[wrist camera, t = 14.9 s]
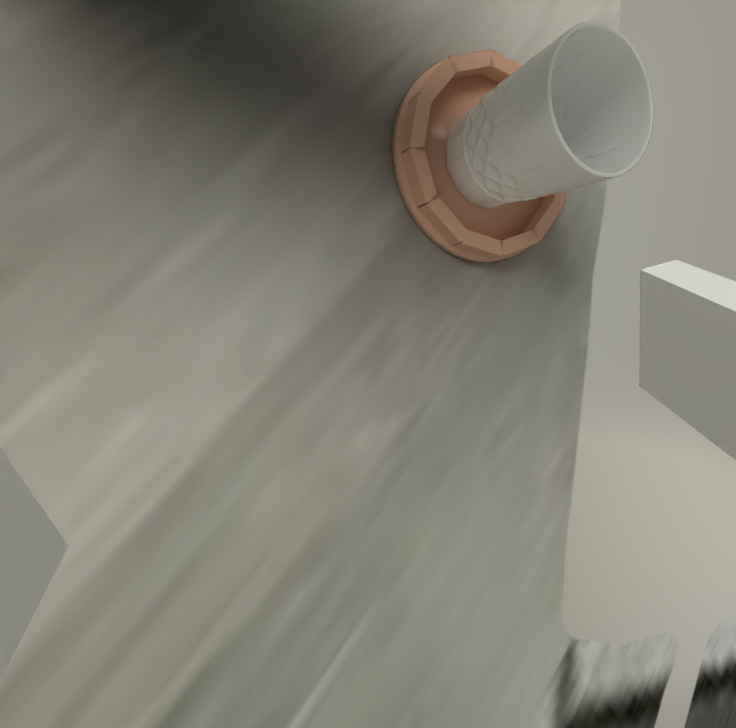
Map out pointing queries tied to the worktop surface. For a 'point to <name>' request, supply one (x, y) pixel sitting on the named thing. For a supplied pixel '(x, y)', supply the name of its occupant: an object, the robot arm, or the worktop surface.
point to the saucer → (432, 179)
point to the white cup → (555, 121)
